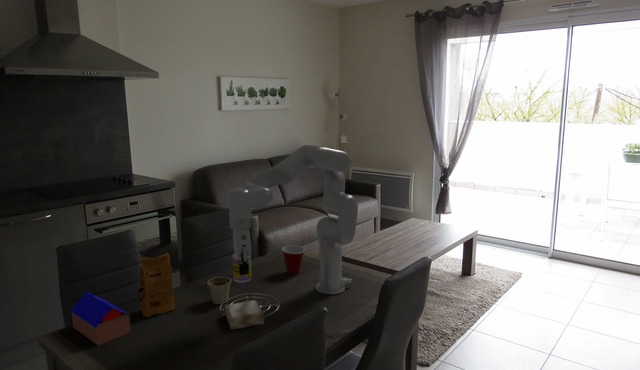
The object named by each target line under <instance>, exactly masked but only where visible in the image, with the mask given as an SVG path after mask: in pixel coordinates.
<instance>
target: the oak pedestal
mask: <svg viewBox="0 0 640 370" xmlns="http://www.w3.org/2000/svg"><path fill="white" fill-rule="evenodd" d="M224 307H225V308H224V310H225V317H226V318H225V319H226V320H227V323H228V326H229V327H230V328H229V329H230V330H236V329H242V328H249V327H254V326H259V325H264V324H265V312H264V311H263V309H262V307H261V305H260V304H259V302H258V301H257V300H255V299H254V300H250V301H243V302H237V303H229V304H225V305H224Z"/></svg>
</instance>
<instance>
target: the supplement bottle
mask: <svg viewBox="0 0 640 370" xmlns="http://www.w3.org/2000/svg"><path fill="white" fill-rule="evenodd" d="M235 251H236V249H235V250H234V253H233V254H232V255H231V256H232V257H231V258H232V279H233V281H234V282H235V283H239V284H245V283H248V282H250V281H251V280H252V275H253V274H252V254H251V255H248V263H249V274H245V275H240V267H239V264H240V257H239V256H238V255H237V254H236V252H235ZM247 254H248V253H247ZM241 255H243V254H241ZM242 258H243V257H242Z"/></svg>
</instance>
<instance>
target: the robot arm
mask: <svg viewBox="0 0 640 370" xmlns="http://www.w3.org/2000/svg"><path fill="white" fill-rule="evenodd" d="M351 161H352V160H351V157H350V155H349V154H348V153H347V152H346V151H344V150H343V151H342V150H338V149H332V148H329V147H326V146H325V147H324V146H320V145H311V144H303V145H301V146H299V147H298V148H297V149H295V150H294V151H293V152H292V153H291V154H289V155H288V156H287V157H286V158H284V159H283V160H281V162H280V163H278V164H276V165H274V166H272V167H268V168H267V169H265V170H263V171H260V172H259V173H257V174H256V175H254V176H253V177H252V178H250V179H249V180H247V181H246V183H244V185H243V186H242V187H236V188H232V189H230V190H229V192H228V214H229V216H228V217H229V229H231V230H232V238H233V239H232V241H233V249H234V253H235V252H236V254H237V255H238V256H239V257H240V264H239V267H240V275H245V274H249V263H248V255H251V256H252V255H253V253H252V241H251V232H250V229H251V228H252V209H253V208H255V209H257V208H261V209H262V208H266V207H268V206H270V205H271V204H272V202H273V200H274V194H273V191H272V190H271V188H274V187H276V186H277V187H278V186H282V185H287V184H290V183H293V182H294V181H295V180H297V179H298V178H299V177H300V176H301V175H302V174H303V173H305V172H306V171H307V170H308V169H310V168H312V169H313V168H314V169H319V170H320V171H321V172H322V173H321V174H322V175H323V177H324V188H323V198H322V209H323V211H324V212H326V213H327V214H330V215H334V216H336V217H333V216H323V217H321V218H320V219H319V220H318V221H317V224H316V235H317V240H318V255H319V256H318V258H319V259H318V261H319V262H318V263H319V264H318V265H319V267H318V268H319V271H318V273H319V277H318V278H319V279H318V281H319V282H318V283H316V285H315V291H316V292H318V293H320V294H323V295H337V294H341V293H343V292H345V290H346V284H351V283H353V279H352V278H348V277H343V276H342V272H343V271H342V265H343V263H342V262H343V260H342V254H343V251H342V250H343V249H342V245H344V246H345V245H346V246H347V245H349V244H350V243H352V241H353V240H354V238H355V236H356V235H355V234H356V229H357V222H358V221H357V220H358V214H359V213H358V212H359V205H358V202H357V199H356V197H354V196H353V195H351V194H349V193H348V194H347V193H345V191H346V178H345V177H346V176H345V173H344V172H346V171H348V169H349V168H350V167H351ZM337 216H338V217H337ZM235 249H236V251H235ZM247 253H248V254H247ZM241 254H243V255H241ZM242 257H243V258H242Z"/></svg>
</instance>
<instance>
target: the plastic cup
mask: <svg viewBox="0 0 640 370" xmlns="http://www.w3.org/2000/svg"><path fill="white" fill-rule="evenodd" d="M281 251H282V253H283V257H284V263H285V268H286V272H287V274H288V275H291V276H292V275H293V276H295V275H298V274H300V271H301V266H302V260H303V255H304V252H305V251H306V249H305V248H304V247H303V246H300V245H296V244H295V245H293V244H292V245H291V244H290V245H285V246H283V247H282V248H281Z"/></svg>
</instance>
